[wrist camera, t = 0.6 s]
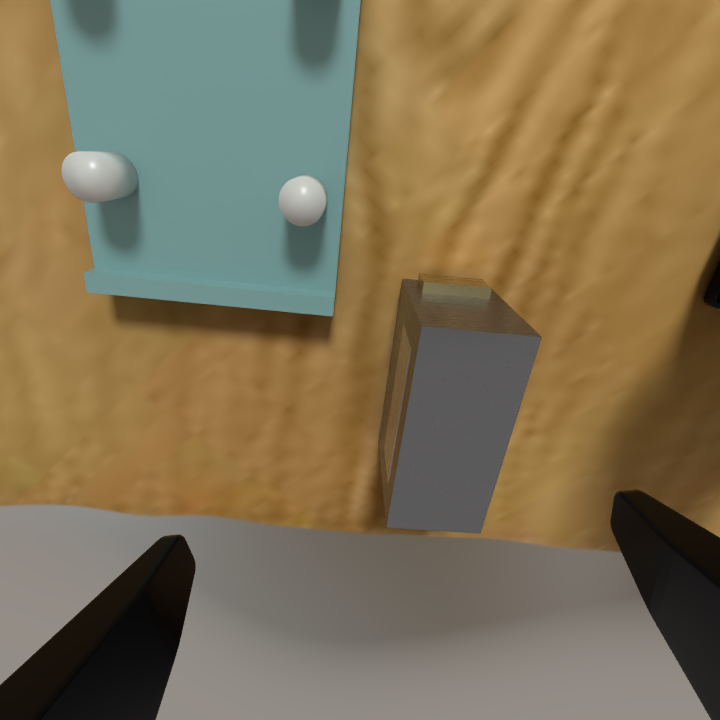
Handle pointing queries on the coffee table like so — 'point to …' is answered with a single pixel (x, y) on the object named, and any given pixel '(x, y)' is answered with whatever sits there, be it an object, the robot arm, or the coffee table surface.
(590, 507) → the coffee table surface
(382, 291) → the coffee table surface
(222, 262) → the tray
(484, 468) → the block
